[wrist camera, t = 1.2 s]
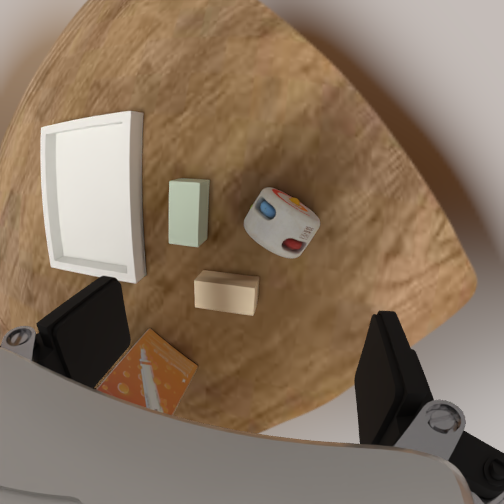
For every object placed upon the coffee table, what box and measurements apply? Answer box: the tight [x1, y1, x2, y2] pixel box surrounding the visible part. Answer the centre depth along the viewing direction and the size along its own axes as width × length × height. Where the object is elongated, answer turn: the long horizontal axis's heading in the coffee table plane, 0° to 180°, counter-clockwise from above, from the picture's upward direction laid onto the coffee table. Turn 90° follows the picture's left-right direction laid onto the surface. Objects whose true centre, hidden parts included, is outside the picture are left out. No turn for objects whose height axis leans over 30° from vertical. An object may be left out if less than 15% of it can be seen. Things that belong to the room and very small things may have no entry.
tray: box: [41, 111, 147, 283], centre depth 30 cm, size 18×14×2 cm
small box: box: [96, 328, 198, 415], centre depth 31 cm, size 8×6×13 cm
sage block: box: [169, 178, 210, 247], centre depth 29 cm, size 6×3×3 cm, turn 176°
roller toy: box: [244, 187, 320, 258], centre depth 26 cm, size 4×6×6 cm
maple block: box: [194, 270, 259, 316], centre depth 31 cm, size 6×3×3 cm, turn 87°
